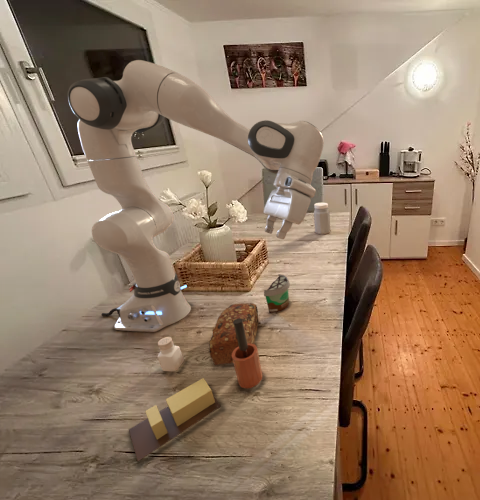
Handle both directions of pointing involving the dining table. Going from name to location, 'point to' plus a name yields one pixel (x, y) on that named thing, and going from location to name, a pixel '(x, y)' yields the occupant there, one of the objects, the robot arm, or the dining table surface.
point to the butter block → (190, 401)
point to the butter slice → (156, 422)
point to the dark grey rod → (241, 336)
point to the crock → (247, 366)
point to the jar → (321, 218)
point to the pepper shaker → (169, 355)
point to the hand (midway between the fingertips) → (273, 235)
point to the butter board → (146, 438)
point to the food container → (278, 294)
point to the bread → (232, 331)
